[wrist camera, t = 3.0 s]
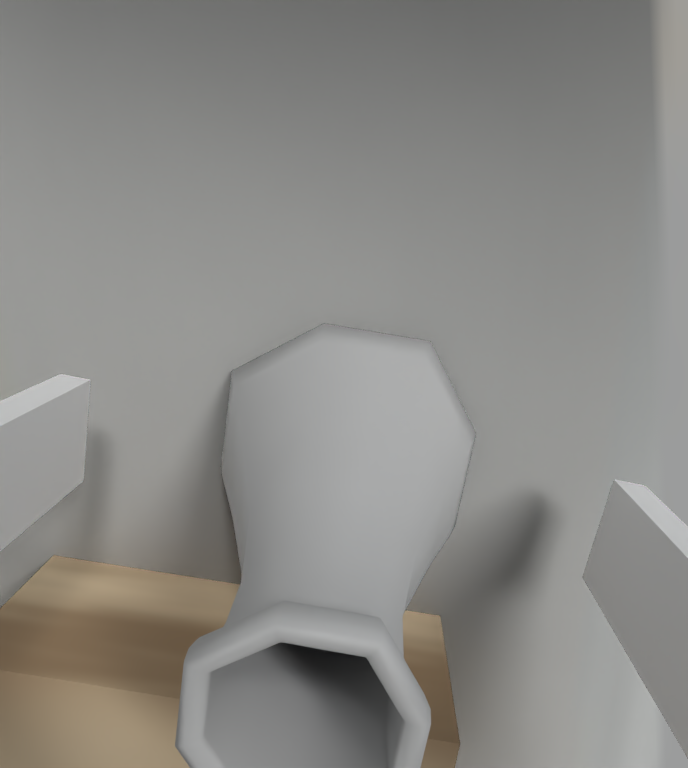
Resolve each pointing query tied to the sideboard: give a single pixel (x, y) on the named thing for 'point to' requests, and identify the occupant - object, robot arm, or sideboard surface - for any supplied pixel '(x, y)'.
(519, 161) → the sideboard surface
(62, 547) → the sideboard surface
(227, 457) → the flask
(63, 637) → the oak block
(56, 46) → the sideboard surface
